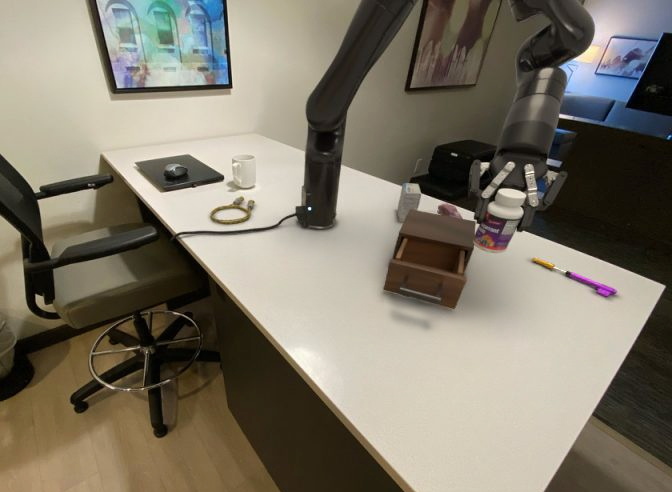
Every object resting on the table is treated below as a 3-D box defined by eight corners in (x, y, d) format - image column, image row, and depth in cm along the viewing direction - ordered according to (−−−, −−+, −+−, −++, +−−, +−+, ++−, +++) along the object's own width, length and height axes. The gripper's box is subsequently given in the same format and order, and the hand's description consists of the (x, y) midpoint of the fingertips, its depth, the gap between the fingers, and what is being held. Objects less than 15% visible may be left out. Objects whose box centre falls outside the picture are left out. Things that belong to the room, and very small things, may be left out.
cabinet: (459, 283, 69) (474, 248, 64) (390, 266, 75) (398, 232, 69) (463, 253, 79) (475, 221, 74) (401, 240, 84) (409, 209, 79)
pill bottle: (465, 240, 59) (485, 188, 53) (489, 237, 61) (511, 185, 55) (487, 256, 55) (512, 201, 49) (513, 251, 57) (540, 197, 51)
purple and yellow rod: (616, 293, 67) (533, 259, 77) (619, 289, 66) (534, 255, 77) (609, 300, 66) (526, 264, 77) (612, 296, 65) (528, 261, 76)
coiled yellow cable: (269, 212, 97) (268, 206, 96) (224, 228, 88) (223, 221, 87) (244, 200, 104) (243, 194, 103) (200, 214, 95) (199, 207, 94)
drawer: (452, 327, 57) (465, 297, 53) (376, 305, 62) (383, 275, 58) (458, 275, 70) (469, 248, 66) (395, 260, 75) (402, 233, 71)
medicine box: (414, 223, 92) (422, 193, 87) (398, 222, 93) (405, 192, 88) (411, 212, 98) (419, 183, 93) (396, 210, 99) (402, 182, 94)
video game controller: (437, 222, 96) (433, 202, 92) (453, 216, 95) (449, 195, 91) (454, 239, 88) (450, 217, 84) (471, 231, 87) (467, 210, 83)
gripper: (486, 113, 54) (456, 208, 53) (591, 123, 49) (562, 227, 48) (475, 141, 61) (449, 225, 60) (566, 151, 56) (540, 243, 55)
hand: (499, 226), depth 54 cm, fingers closed on pill bottle, 5 cm apart
